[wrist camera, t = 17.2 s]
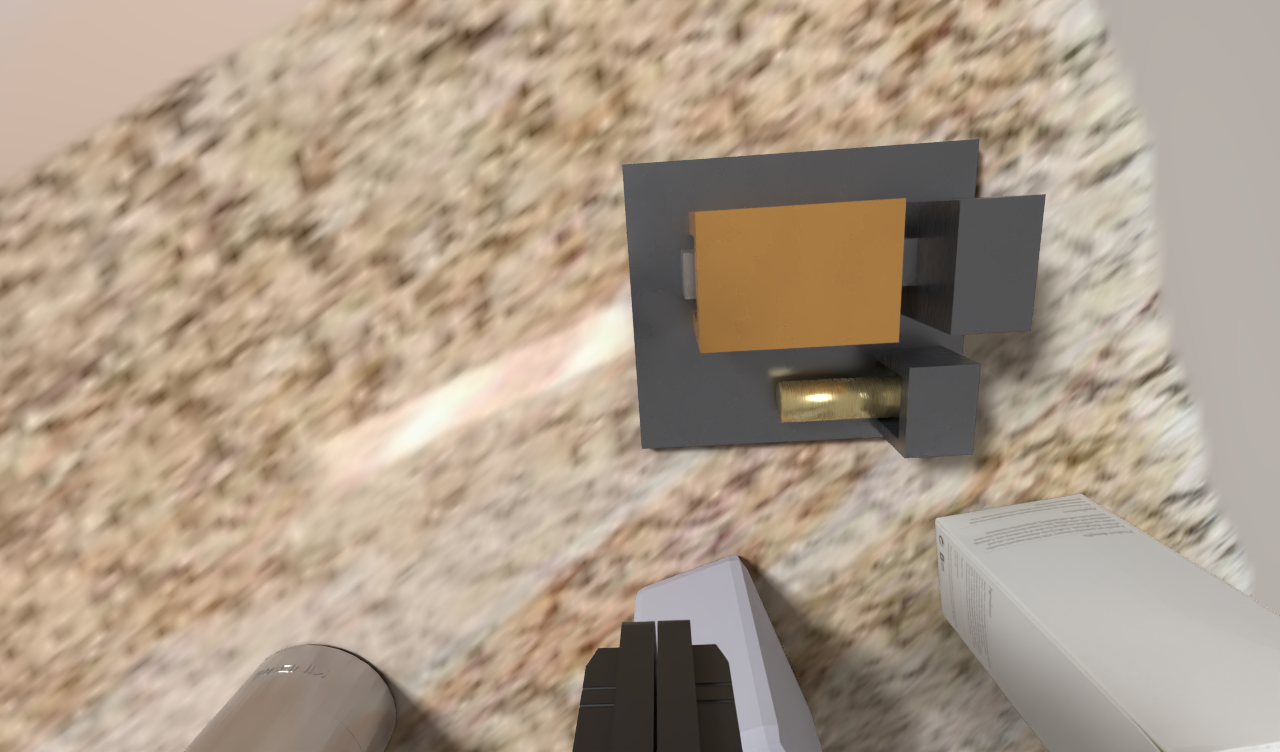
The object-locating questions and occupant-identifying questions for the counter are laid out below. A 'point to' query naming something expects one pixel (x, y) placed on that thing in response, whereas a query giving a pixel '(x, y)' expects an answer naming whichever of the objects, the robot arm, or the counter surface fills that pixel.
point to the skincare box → (1109, 632)
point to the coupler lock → (798, 275)
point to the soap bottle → (738, 650)
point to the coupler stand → (746, 380)
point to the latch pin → (838, 399)
